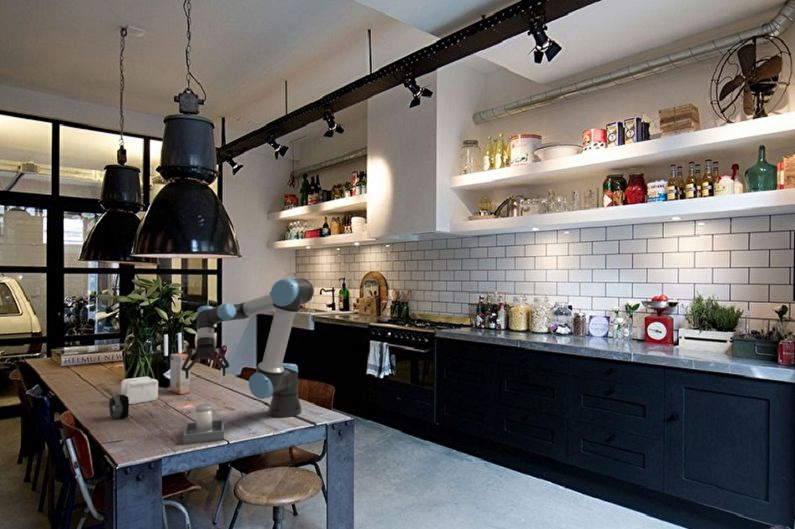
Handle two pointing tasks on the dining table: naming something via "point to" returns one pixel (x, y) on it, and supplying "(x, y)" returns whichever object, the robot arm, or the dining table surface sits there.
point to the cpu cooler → (119, 406)
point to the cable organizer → (140, 389)
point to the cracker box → (178, 374)
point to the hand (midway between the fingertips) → (205, 384)
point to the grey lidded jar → (204, 418)
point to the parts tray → (193, 437)
